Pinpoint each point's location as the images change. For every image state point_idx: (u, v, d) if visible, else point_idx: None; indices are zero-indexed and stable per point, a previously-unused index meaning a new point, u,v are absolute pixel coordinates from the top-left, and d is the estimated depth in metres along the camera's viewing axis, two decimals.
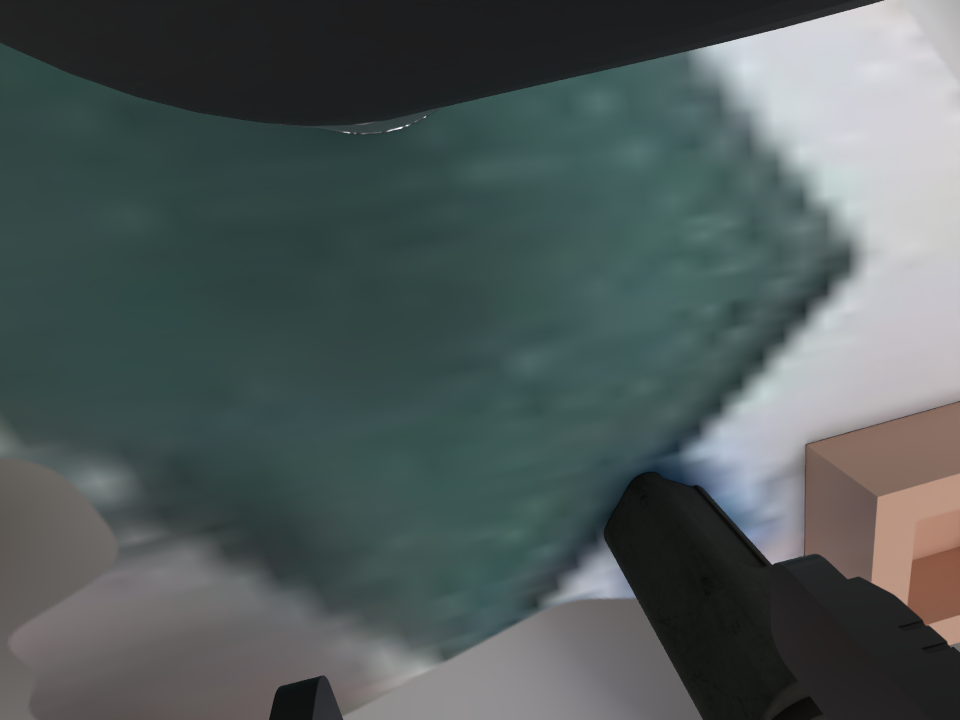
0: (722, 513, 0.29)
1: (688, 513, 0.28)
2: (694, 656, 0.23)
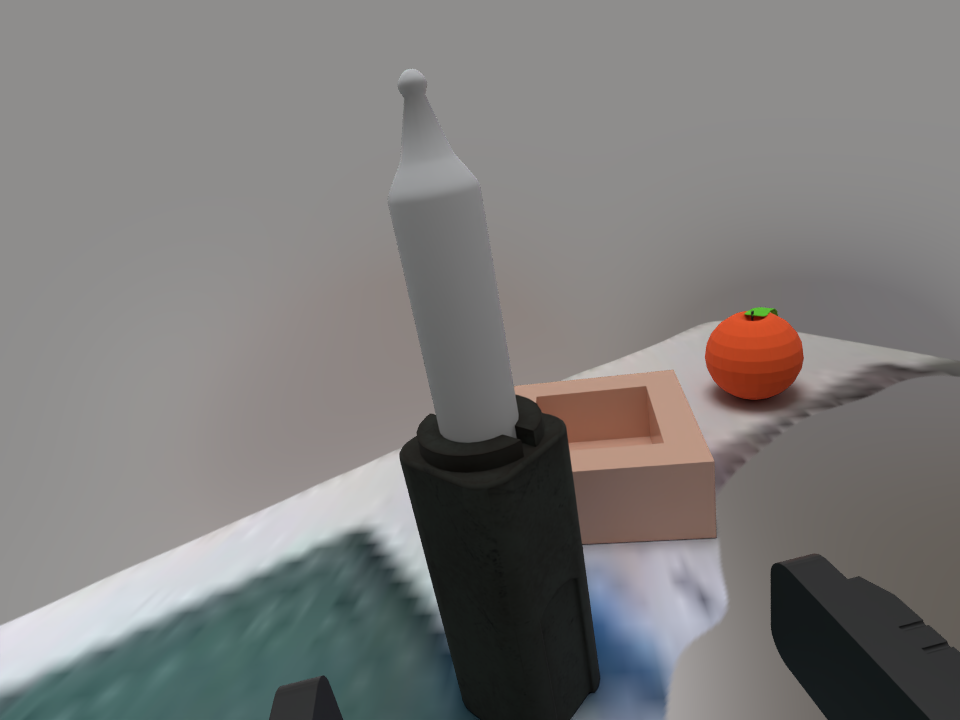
0: None
1: None
2: (465, 563, 0.20)
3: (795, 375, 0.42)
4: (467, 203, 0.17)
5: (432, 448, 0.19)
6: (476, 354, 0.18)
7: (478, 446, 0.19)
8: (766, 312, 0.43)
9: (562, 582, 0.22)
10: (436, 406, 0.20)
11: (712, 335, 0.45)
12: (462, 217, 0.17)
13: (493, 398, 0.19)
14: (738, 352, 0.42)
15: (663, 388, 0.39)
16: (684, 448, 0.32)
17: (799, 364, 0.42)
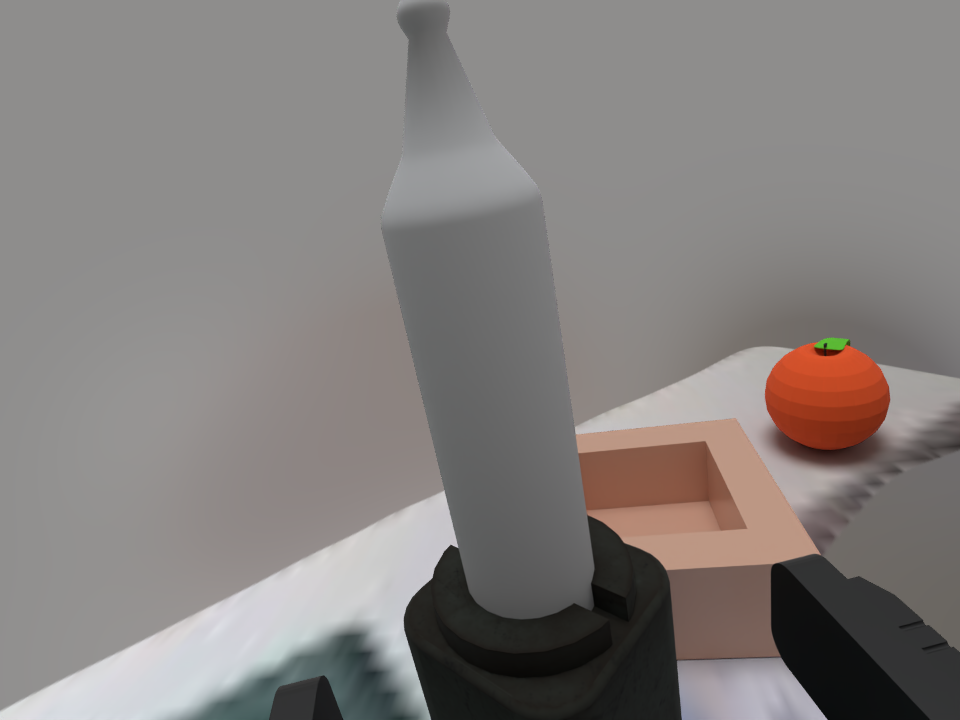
0: None
1: None
2: None
3: (881, 422, 0.35)
4: (525, 227, 0.09)
5: (458, 629, 0.12)
6: (537, 484, 0.11)
7: (537, 630, 0.11)
8: (842, 344, 0.36)
9: None
10: (464, 556, 0.12)
11: (775, 373, 0.37)
12: (516, 254, 0.09)
13: (561, 550, 0.11)
14: (812, 394, 0.34)
15: (728, 445, 0.31)
16: (777, 538, 0.24)
17: (886, 408, 0.35)
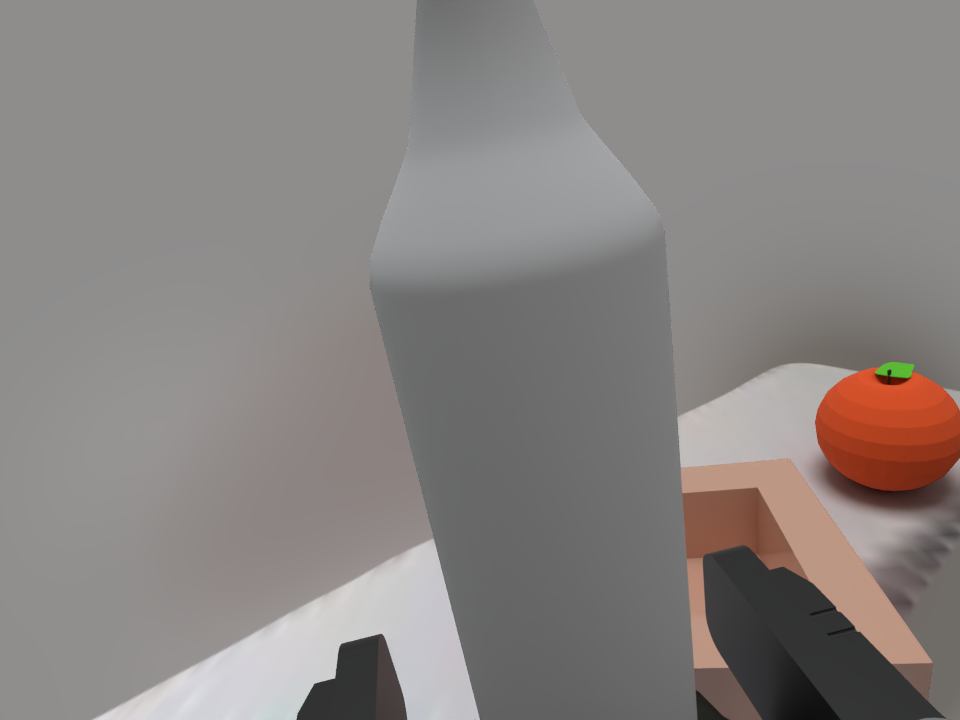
0: None
1: None
2: None
3: (956, 461, 0.30)
4: (644, 288, 0.05)
5: None
6: None
7: None
8: (908, 371, 0.31)
9: None
10: None
11: (829, 402, 0.33)
12: (630, 340, 0.05)
13: None
14: (877, 430, 0.30)
15: (785, 494, 0.26)
16: (866, 626, 0.19)
17: None
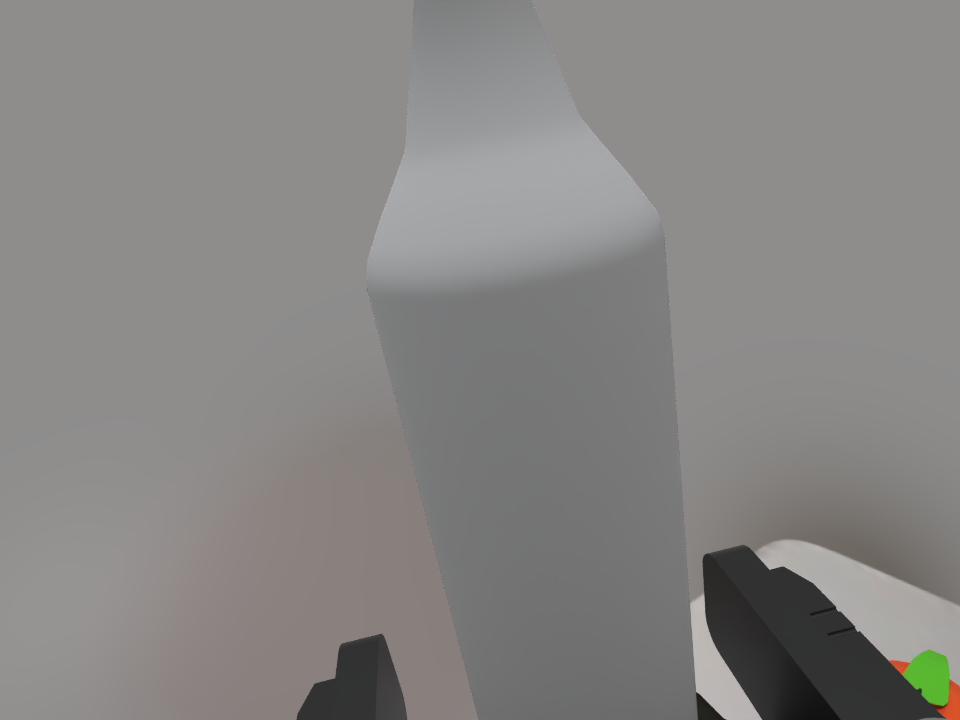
0: None
1: None
2: None
3: None
4: (643, 290, 0.05)
5: None
6: None
7: None
8: (943, 690, 0.24)
9: None
10: None
11: None
12: (627, 343, 0.05)
13: None
14: None
15: None
16: None
17: None
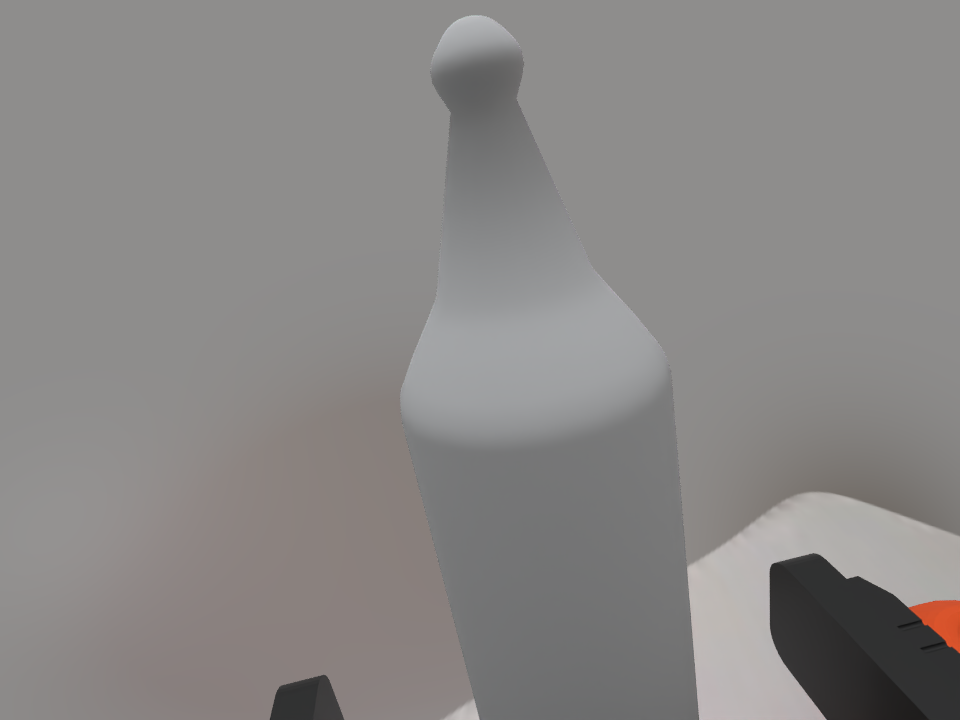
0: None
1: None
2: None
3: None
4: (653, 436, 0.05)
5: None
6: None
7: None
8: None
9: None
10: None
11: None
12: (639, 485, 0.05)
13: None
14: None
15: None
16: None
17: None
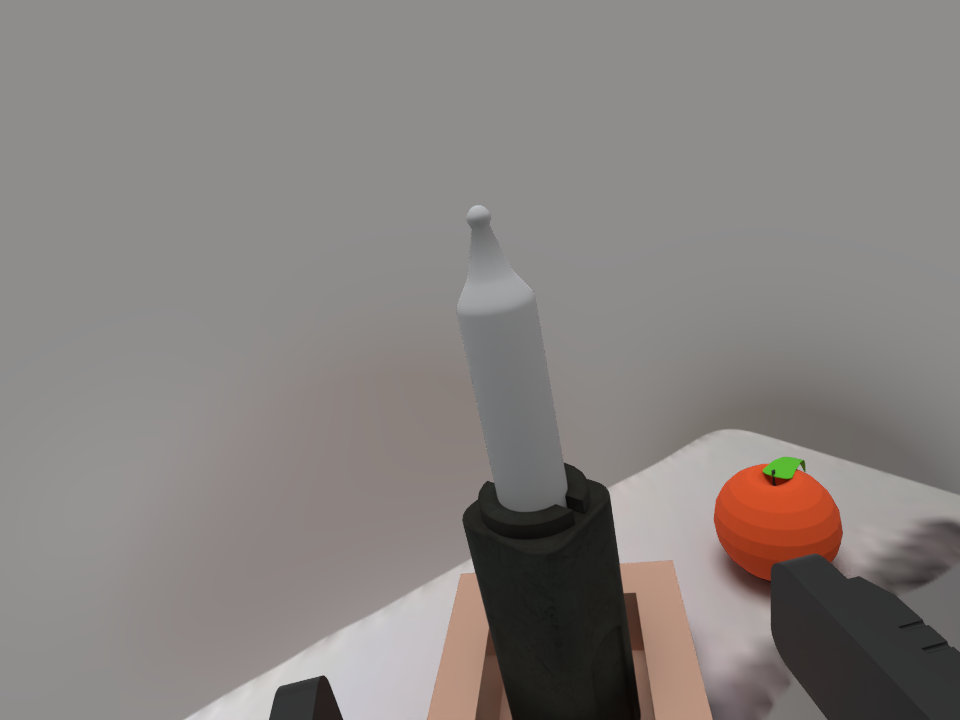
0: None
1: None
2: (524, 616, 0.23)
3: (833, 558, 0.32)
4: (526, 314, 0.20)
5: (494, 517, 0.22)
6: (534, 438, 0.21)
7: (535, 516, 0.22)
8: (791, 471, 0.34)
9: (608, 630, 0.24)
10: (497, 480, 0.23)
11: (722, 497, 0.35)
12: (522, 327, 0.20)
13: (548, 474, 0.22)
14: (757, 530, 0.32)
15: (658, 601, 0.29)
16: None
17: (838, 544, 0.32)
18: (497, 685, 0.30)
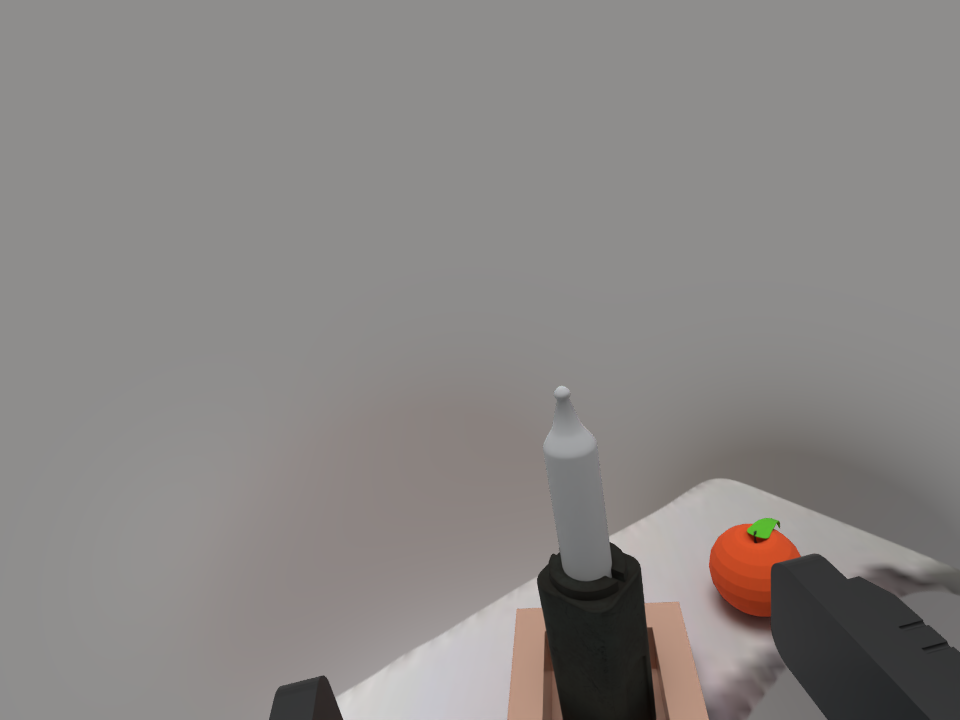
0: None
1: None
2: (582, 651, 0.33)
3: None
4: (592, 457, 0.30)
5: (563, 584, 0.33)
6: (593, 534, 0.32)
7: (592, 584, 0.32)
8: (768, 532, 0.44)
9: (637, 660, 0.35)
10: (564, 558, 0.33)
11: (716, 549, 0.46)
12: (590, 465, 0.30)
13: (601, 556, 0.32)
14: (742, 578, 0.43)
15: (669, 634, 0.39)
16: None
17: None
18: (549, 695, 0.40)
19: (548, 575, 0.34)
